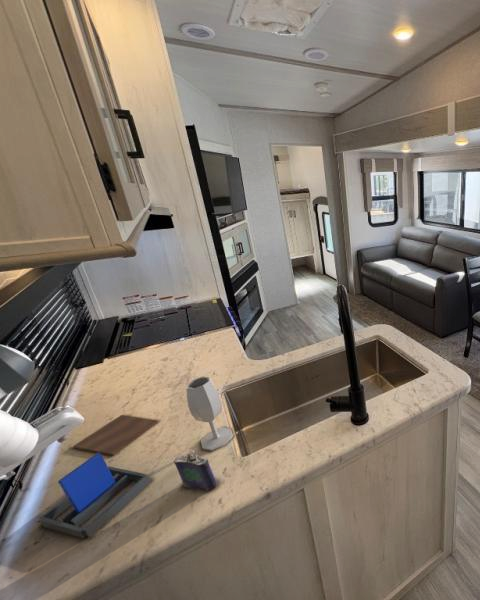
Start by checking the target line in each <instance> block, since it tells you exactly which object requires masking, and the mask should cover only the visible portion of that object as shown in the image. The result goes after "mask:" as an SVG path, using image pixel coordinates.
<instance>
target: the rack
mask: <svg viewBox="0 0 480 600" xmlns="http://www.w3.org/2000/svg"><path fill="white" fill-rule="evenodd" d="M107 467H108V469H109V470H110V472H111V474H112V476H113V478H114V480H115V482H116V483H115V484H114V485H113V486H112V487H110V488H109V489H108V490H107V491H106V492H104V493H103V494H102V495H101V496H100V497H98V498H97V499H96V500H95V501H94V502H92V503H91V504H90V505H89V506H87V507H86V508H85V509H84V510H83V511H81V512H80V513H79V514H77V512H76V511H75V509H74V507H73V508H72V509H71V510H70V511H68V512H67V513H66V514H64V515H63V516H62V517H61V518H60V519H61V521H59V520H55V518H57V517H58V516H59V515H60V514H62V513H63V512H64V511H65V510H67V509H68V508H69V507H71V506H72V504H71V502H70V501H69V499H68V498H67V496H66V497H64V498H63V499H62V500H60V501H59V502H58V503H56V504H55V505H54V506H53V507H52V508H50V509H49V510H47V511H46V512H44V513H43V514H42V515H41V516H40V517H39V523H40V524H41V525H42V526H43V528H46V529H50V530H53V531H56V532H60V533H63V534H66V535H70V536H74V537H77V538H81V539H84V540H85V539H86V538H91V536H93V535H94V534H95V533H96V532H98V530H99V529H100V528H101V527H103V525H105V524H106V523H107V522H108V521H109V520H110V519H112V517H114V516H115V515H116V514H117V513H118V512H119V511H120V510H121V509H122V508H123V507H125V505H127V504H128V503H129V502H130V501H131V500H133V498H135V496H136V495H138V494H139V493H140V492H141V491H142V490H144V488H146V487H147V486H148V485H149V484H150V483H151V481H150V479H149V477H148V474H147V473H142V472H138V471H132V470H128V469H124V468H120V467H119V468H118V467H114V466H107ZM131 481H136V482H135V484H133V485H132V486H131V487H130V488H128V489H127V490H126V491H125V492H124V493H123V494H121V496H120V497H118V498H117V499H116V500H115V501H114V502H113V503H112V504H111V505H109V506H108V507H107V508H106V509H105V510H104V511H102V512H101V513H100V514H99V515H98V516H97V517H96V518H95V519H93V520H92V521H91V522H90V523H89V524H88V525H87V526H85V527H80V526H81V525H82V524H83V523H85V522H86V521H87V520H88V519H90V517H92V516H93V515H94V514H95V513H96V512H98V511H99V510H100V509H101V508H102V507H103V506H104V505H105V504H107V503H108V502H109V501H110V500H112V499H113V498H114V497H115V496H116V495H117V494H118V493H120V492H121V491H122V490H123V489H124V488H125V487H126V486H127V485H129V484H130V483H131Z"/></svg>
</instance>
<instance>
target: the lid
mask: <svg viewBox="0 0 480 600" xmlns="http://www.w3.org/2000/svg"><path fill="white" fill-rule="evenodd" d="M108 467H109V466H108V465H107V462H106V460H105V459H104V456H103V455H102V453H97V452H96V453H95V454H94V455H92V456H91V457H90V458H88V459H87V460H86V461H84V462H82V463H81V464H80V465H78V466H77V467H76V468H74V469H73V470H72V471H70V472H69V473H67V474H66V475H64V476H63V477H62V478H60V479H58V480H57V483H58V484H59V486H60V487H61V490H62V491H63V493H64V494H65V496H66V497H67V498H68V499H69V501H70V502H71V504H72V505H71V506H72V507H73V508H74V509H75V511H76V512H77V514H79V513H80V512H81V511H83V510H84V509H85V508H86V507H87V506H89V505H90V504H91V503H92V502H94V501H95V500H96V499H97V498H98V497H100V496H101V495H102V494H103V493H104V492H106V491H107V490H108V489H109V488H110V487H112V486H113V485H114V484H115V483H116V482H115V480H114V478H113V476H112V474H111V472H110V470H109V469H108Z"/></svg>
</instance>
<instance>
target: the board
mask: <svg viewBox="0 0 480 600" xmlns="http://www.w3.org/2000/svg"><path fill="white" fill-rule="evenodd" d="M156 424H158V420H157V419H151V418H144V417H136V416H130V415H124V414H121V415H119V416H118V417H116V418H114V419H113V420H111V421H110V422H109V423H107V424H106V425H103V426H102V427H101V428H99V429H98V430H96V431H95V432H92V434H90V435H88V436H86V438H84V439H82V440H81V441H79V442H78V443H76V444H75V445H73V449H77V450H82V451H87V452H93V453H96V454H97V453H100V454H101V455H102V454H103V455H107V456H115V455H116V454H118V453H119V452H120V451H121V450H123V449H124V448H125V447H127V446H128V445H130V444H131V443H132V442H134V441H135V440H137V439H138V438H139V437H140V436H142V435H143V434H145V433H146V432H147V431H148V430H150V429H151V428H152V427H154V426H155V425H156Z"/></svg>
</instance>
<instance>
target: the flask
mask: <svg viewBox="0 0 480 600" xmlns="http://www.w3.org/2000/svg"><path fill="white" fill-rule="evenodd" d="M194 453H195V451H194V450H190V451H189V452H188V453H187V454H182V455H178V456H177V457H176V458H174V460H173V463H174V465H175V467H176V470H177V472H178V474H179V476H180V480H181V483H182V486H183V487H184V488H189V489H190V488H191V489H192V488H196V489H202V490H205V491H208V492H209V491H210V492H211V491H213V490H214V489H216V487H218V482H217V480H216V477H215V475H214V472H213V470H212V468H211V465H210V462H209V459H208V458H207V457H204V456H202V455H197V454H194Z"/></svg>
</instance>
